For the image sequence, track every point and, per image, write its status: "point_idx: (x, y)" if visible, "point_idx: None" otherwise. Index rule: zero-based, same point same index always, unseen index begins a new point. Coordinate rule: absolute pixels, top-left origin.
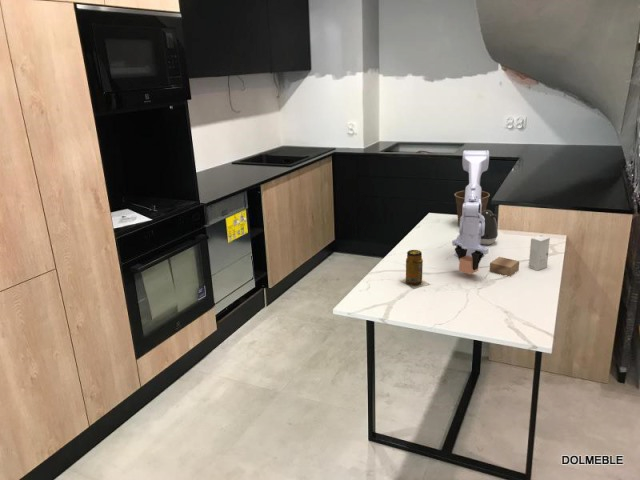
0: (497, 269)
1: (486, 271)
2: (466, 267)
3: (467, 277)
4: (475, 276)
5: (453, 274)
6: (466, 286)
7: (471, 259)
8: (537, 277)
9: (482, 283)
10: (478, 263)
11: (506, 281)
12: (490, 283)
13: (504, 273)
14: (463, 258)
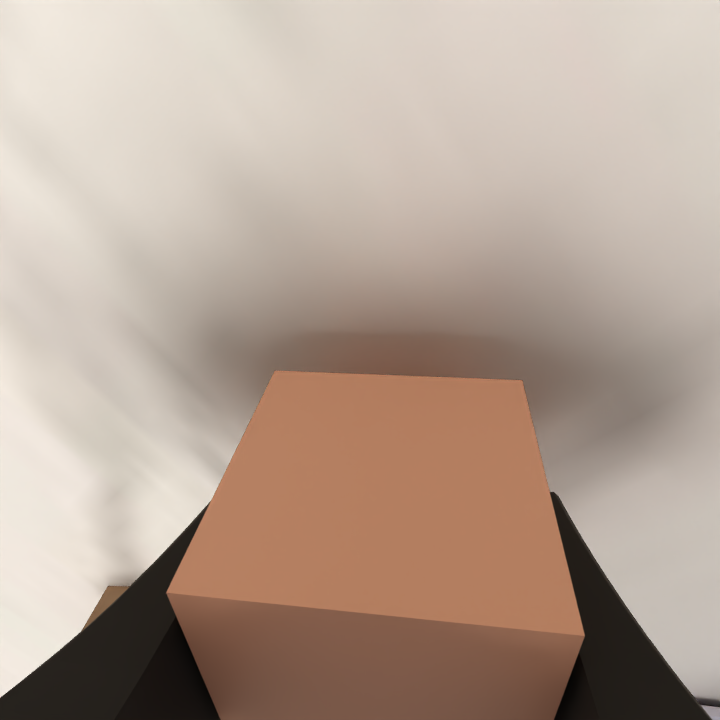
0: None
1: None
2: (342, 450)
3: (364, 351)
4: None
5: (610, 307)
6: (102, 17)
7: (292, 690)
8: (9, 650)
9: (89, 317)
10: None
11: (28, 504)
12: (47, 378)
13: None
14: (489, 671)
